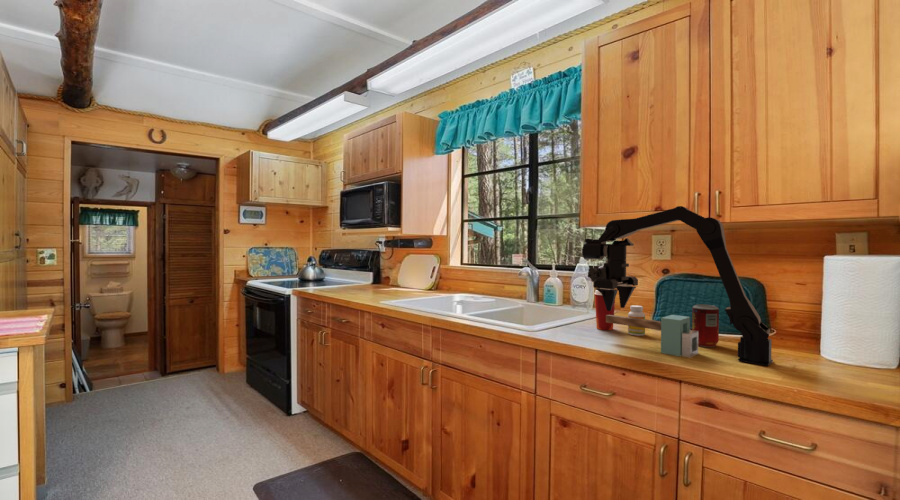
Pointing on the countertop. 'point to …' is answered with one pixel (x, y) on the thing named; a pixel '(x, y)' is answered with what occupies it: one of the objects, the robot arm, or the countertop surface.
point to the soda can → (706, 324)
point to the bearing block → (673, 333)
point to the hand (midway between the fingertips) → (615, 309)
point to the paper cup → (602, 312)
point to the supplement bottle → (637, 313)
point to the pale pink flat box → (689, 343)
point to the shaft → (634, 322)
